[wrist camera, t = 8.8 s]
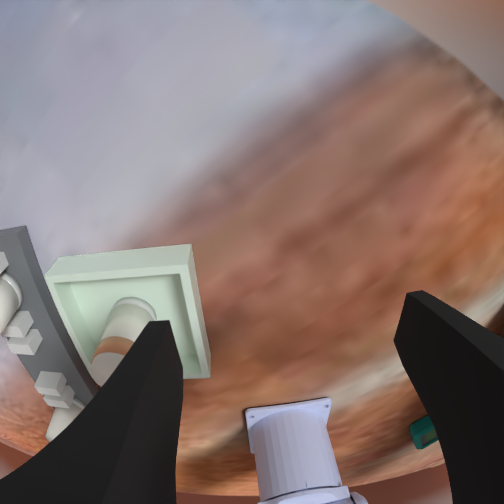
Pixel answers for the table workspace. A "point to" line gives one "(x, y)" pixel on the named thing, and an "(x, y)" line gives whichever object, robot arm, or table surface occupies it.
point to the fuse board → (41, 328)
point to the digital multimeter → (423, 432)
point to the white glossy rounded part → (9, 298)
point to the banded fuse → (120, 335)
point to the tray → (132, 285)
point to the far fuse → (63, 418)
